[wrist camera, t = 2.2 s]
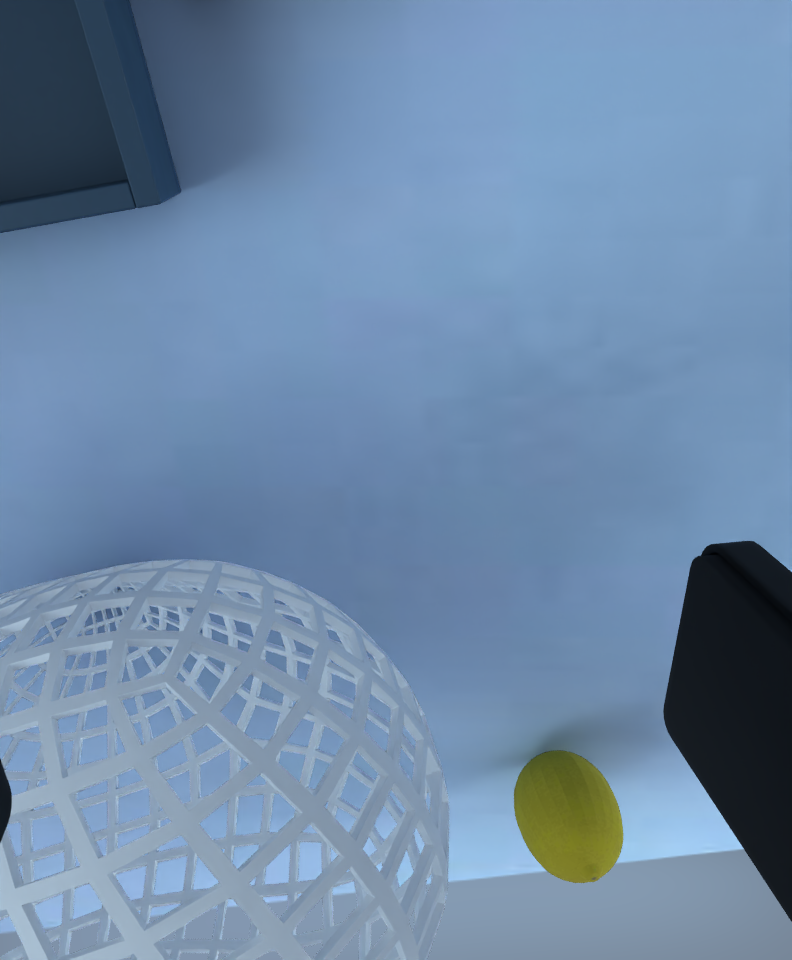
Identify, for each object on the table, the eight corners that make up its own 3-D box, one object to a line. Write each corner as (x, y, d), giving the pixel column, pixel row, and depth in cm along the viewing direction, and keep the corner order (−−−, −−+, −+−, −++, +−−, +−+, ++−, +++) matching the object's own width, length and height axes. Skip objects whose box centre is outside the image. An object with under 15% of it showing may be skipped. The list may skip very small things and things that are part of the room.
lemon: (489, 789, 44) (529, 916, 37) (510, 719, 42) (557, 840, 35) (574, 790, 45) (628, 913, 38) (598, 722, 43) (661, 840, 36)
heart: (326, 356, 31) (397, 745, 11) (418, 629, 38) (564, 1168, 18) (-294, 554, 31) (-1308, 1289, 11) (-89, 791, 38) (-495, 1506, 18)
